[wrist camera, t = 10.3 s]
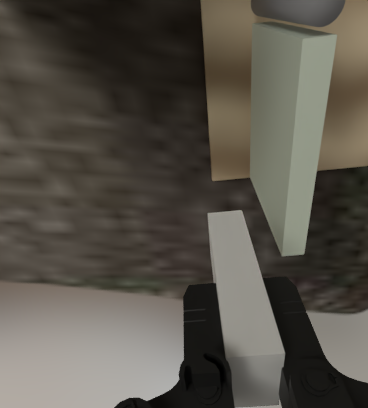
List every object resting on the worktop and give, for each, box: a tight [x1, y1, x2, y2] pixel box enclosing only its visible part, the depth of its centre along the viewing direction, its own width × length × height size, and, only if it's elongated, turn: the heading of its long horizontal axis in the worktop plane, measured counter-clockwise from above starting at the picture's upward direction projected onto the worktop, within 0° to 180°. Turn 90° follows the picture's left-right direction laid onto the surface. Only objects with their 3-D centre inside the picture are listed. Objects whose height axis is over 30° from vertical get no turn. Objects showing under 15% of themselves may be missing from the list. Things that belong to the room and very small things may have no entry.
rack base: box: [200, 0, 368, 181], centre depth 17 cm, size 15×15×11 cm
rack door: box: [250, 0, 345, 256], centre depth 17 cm, size 12×3×9 cm, turn 6°
